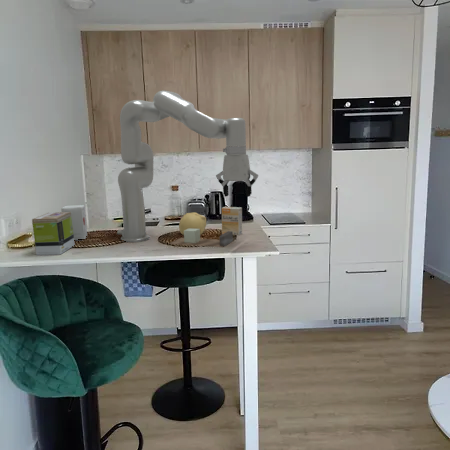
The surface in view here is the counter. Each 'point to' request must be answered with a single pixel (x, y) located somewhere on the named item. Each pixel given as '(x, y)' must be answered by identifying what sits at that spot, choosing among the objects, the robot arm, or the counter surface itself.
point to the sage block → (191, 235)
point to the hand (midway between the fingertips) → (237, 196)
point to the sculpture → (192, 222)
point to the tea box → (53, 233)
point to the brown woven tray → (209, 241)
